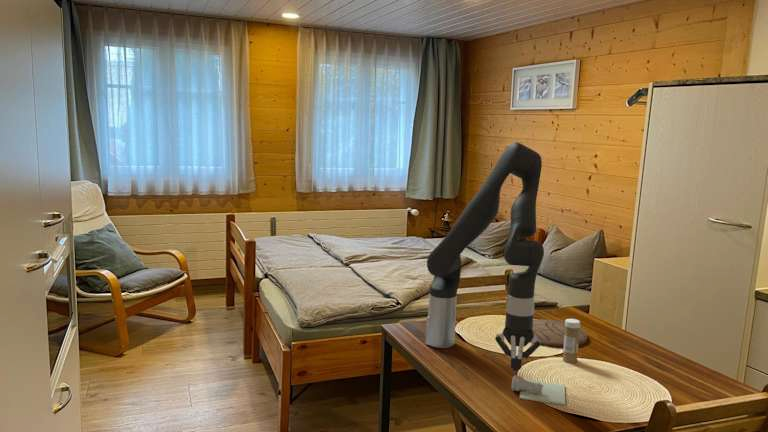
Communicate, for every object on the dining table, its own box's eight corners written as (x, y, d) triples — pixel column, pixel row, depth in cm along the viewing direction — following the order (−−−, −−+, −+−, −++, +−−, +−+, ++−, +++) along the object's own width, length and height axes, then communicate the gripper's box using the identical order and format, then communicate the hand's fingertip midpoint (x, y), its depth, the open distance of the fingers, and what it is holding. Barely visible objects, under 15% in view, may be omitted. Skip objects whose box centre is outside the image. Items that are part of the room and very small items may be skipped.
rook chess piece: (513, 372, 164) (542, 379, 160) (515, 377, 167) (544, 383, 164) (510, 388, 162) (539, 395, 158) (512, 392, 165) (541, 399, 162)
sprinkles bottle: (579, 361, 187) (583, 321, 185) (570, 364, 184) (574, 323, 182) (568, 356, 191) (571, 317, 189) (559, 359, 188) (562, 319, 186)
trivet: (535, 350, 196) (535, 345, 196) (503, 325, 220) (503, 320, 220) (601, 346, 202) (601, 341, 202) (563, 322, 226) (563, 317, 226)
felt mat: (519, 398, 160) (519, 396, 160) (521, 380, 171) (521, 379, 171) (565, 405, 157) (565, 403, 157) (564, 386, 168) (564, 385, 168)
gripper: (494, 312, 161) (490, 371, 163) (544, 317, 157) (539, 378, 160) (497, 304, 168) (493, 361, 170) (544, 309, 164) (540, 368, 167)
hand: (515, 369), depth 165 cm, fingers closed
